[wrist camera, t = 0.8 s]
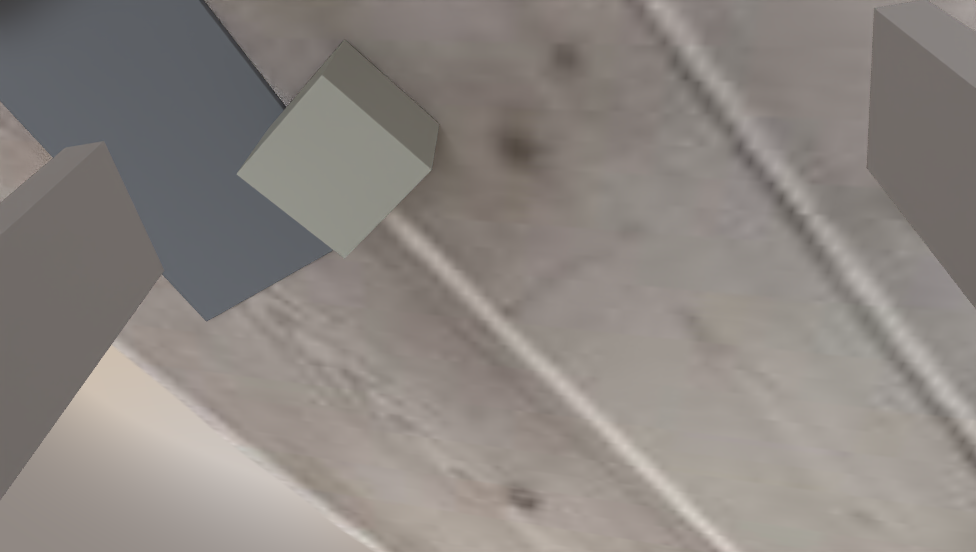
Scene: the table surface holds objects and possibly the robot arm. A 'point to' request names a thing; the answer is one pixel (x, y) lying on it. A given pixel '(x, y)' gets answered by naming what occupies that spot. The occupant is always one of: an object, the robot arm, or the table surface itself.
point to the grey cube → (343, 151)
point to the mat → (160, 131)
